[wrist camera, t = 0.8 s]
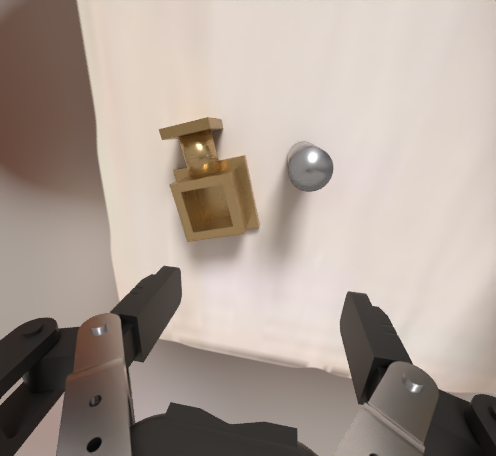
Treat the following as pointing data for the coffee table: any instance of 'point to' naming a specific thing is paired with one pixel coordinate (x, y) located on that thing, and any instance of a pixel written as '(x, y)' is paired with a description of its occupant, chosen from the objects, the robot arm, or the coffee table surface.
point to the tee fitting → (210, 184)
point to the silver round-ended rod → (309, 166)
